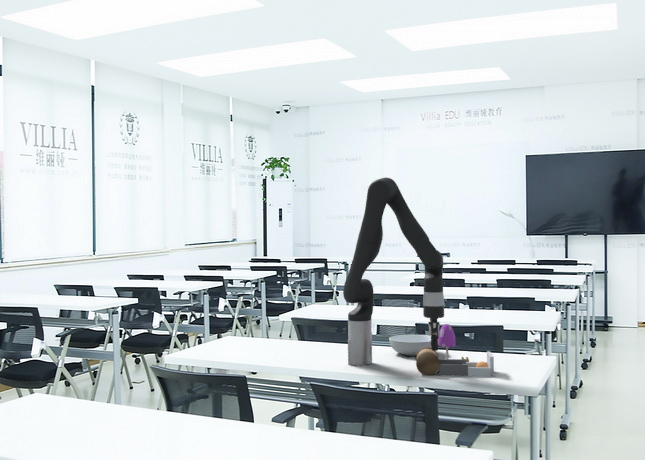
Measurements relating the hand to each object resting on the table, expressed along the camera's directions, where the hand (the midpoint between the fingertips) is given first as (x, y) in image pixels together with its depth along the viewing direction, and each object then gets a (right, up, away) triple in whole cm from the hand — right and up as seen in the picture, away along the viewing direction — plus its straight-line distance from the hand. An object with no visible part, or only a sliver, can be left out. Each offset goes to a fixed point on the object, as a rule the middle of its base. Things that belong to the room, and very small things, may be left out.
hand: (434, 348), depth 233 cm
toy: (+8, -9, +19) cm, 22 cm away
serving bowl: (-2, -9, +36) cm, 37 cm away
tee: (+13, -9, +6) cm, 16 cm away
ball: (+17, -6, -3) cm, 18 cm away
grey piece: (+11, -9, -2) cm, 14 cm away
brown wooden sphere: (-2, -9, 0) cm, 9 cm away
